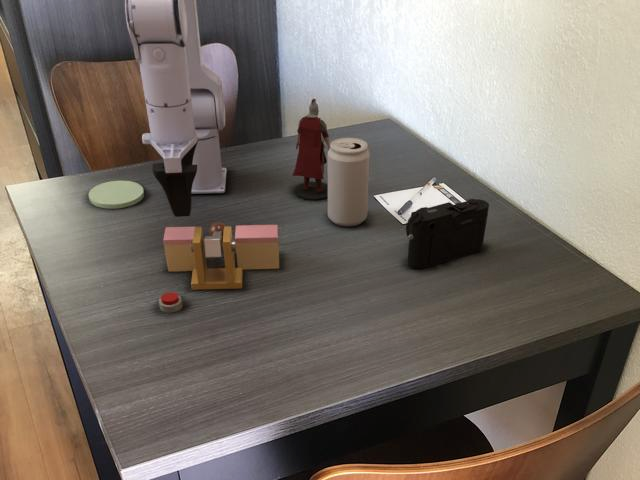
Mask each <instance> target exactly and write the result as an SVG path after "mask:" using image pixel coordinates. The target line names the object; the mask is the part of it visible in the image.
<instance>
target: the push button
mask: <svg viewBox="0 0 640 480" xmlns="http://www.w3.org/2000/svg"><path fill="white" fill-rule="evenodd" d="M158 305H159V310H160V311H161V312H163V313H167V314H170V313H171V314H172V313H176V312H179V311H180V310H181V309H182V308H183V300H182V297H181V296H180V295H178V294H177V293H176V292H173V291H172V292H171V291H170V292H165V293H163V294H162V295H161V296H160V298H159V299H158Z"/></svg>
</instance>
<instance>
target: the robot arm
mask: <svg viewBox="0 0 640 480" xmlns="http://www.w3.org/2000/svg"><path fill="white" fill-rule="evenodd" d="M124 12H125V20H126V22H125V23H126V27H127V31H128V34H129V37H130V40H131V45H132V47H133V52H134V58H135V61H136V63H138V64H139V71H140V77H141V84H142V90H143V96H144V101H145V109H146V114H147V120H148V121H147V122H148V125H149V132H145V133H143V134H142V136H141V141H142V142H141V143H142V144H143V145H151V146H152V147H153V148H154V150H155V151H156V152H157V153H158V154H159V156H160V157H161V158H162V159H163V162H156V163H152V168H151V171H152V174H153V176H154V178H155V179H156V180H157V181H158V183H159V184H160V186H161V187H162V190H163V191H164V194H165V195H166V198H167V201H168V204H169V207H170V209H171V212H172V214H173V216H174V217H175V218H181V217H190V216H191V212H192V211H191V210H192V195H196V194H197V195H198V194H199V195H202V194H206V195H207V194H224V193H225V192H226V183H227V172H228V170H227V168H226V167H223V166H222V156H221V145H220V137H219V131H223V130H224V128H225V127H226V109H225V108H226V106H225V105H226V103H225V96H224V91H223V84H222V83H223V82H222V80H221V79H220V76H219V75H218V74H216V72H214V71H213V70H211V69H210V68H209V67H207V66H206V65H205V64H204V63H203V57H202V47H201V37H200V29H199V28H200V27H199V16H198V7H197V0H124Z"/></svg>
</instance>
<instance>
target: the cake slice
mask: <svg viewBox="0 0 640 480" xmlns="http://www.w3.org/2000/svg"><path fill="white" fill-rule="evenodd" d="M195 227H196V226H165V230H164V234H163V240H162V241H163V248H164V253H165V259H166V264H167V271H168V272H171V273H172V272H173V273H174V272H193V269H196V265H195V258H194V252H192V251H191V242H193V236H194V228H195Z"/></svg>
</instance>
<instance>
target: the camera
mask: <svg viewBox="0 0 640 480" xmlns="http://www.w3.org/2000/svg"><path fill="white" fill-rule="evenodd" d="M489 208H490V204H489V202H487V201H486V200H483V199H480V198H479V199H478V198H469V199H467V200H466V201H462V202H456V203H455V204H453V203H452V202H451V201H448V202H445V203H441V204H437V205H434V206H429V207H427V206H424V207H420V208H418V209H416V210H415V211H411V212H410V217H409V218H408V220H407V222H406V225H405V233H406V236H407V238H408V240H409V241H408V252H407V264H408V267H409V268H412V269H416V270H423V269H425V268H428V267H432V266H435V265H439V264H441V263H444V262H448V261H451V260H454V259H458V258H461V257H465V256H468V255H471V254H474V253H478V252H480V251H482V248H483V246H484V240H485V234H486V228H487V221H488V217H489Z"/></svg>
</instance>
